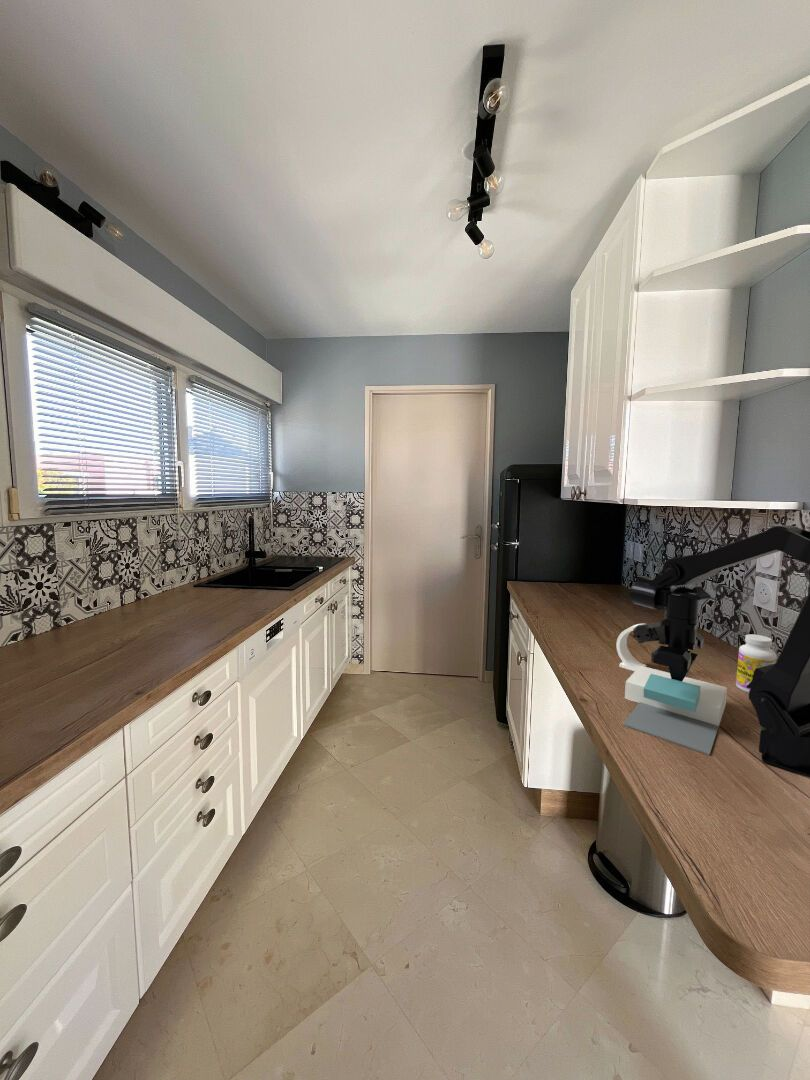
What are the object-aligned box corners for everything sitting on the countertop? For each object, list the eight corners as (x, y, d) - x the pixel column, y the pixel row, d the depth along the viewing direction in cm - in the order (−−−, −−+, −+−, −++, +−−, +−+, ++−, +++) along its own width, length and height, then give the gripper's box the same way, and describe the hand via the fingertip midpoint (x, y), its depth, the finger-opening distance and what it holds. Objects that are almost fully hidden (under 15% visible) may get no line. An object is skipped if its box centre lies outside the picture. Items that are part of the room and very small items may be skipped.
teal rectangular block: (700, 695, 85) (700, 686, 84) (695, 712, 81) (695, 702, 80) (650, 682, 91) (650, 673, 90) (643, 697, 87) (643, 688, 86)
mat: (718, 727, 81) (718, 726, 81) (709, 755, 72) (709, 753, 72) (639, 703, 91) (639, 701, 90) (623, 725, 82) (623, 724, 82)
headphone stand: (639, 672, 106) (641, 627, 105) (615, 665, 111) (617, 622, 109) (646, 667, 109) (648, 624, 108) (622, 661, 114) (624, 619, 112)
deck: (725, 704, 90) (727, 687, 89) (718, 727, 81) (720, 708, 81) (639, 681, 101) (640, 665, 101) (624, 698, 93) (625, 681, 92)
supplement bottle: (728, 683, 100) (732, 632, 98) (756, 683, 100) (761, 632, 98) (750, 696, 93) (755, 642, 92) (780, 697, 93) (786, 642, 91)
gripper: (649, 600, 99) (645, 662, 101) (625, 617, 85) (622, 689, 87) (706, 609, 91) (701, 676, 93) (689, 629, 78) (684, 707, 79)
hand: (676, 686), depth 88 cm, fingers closed
